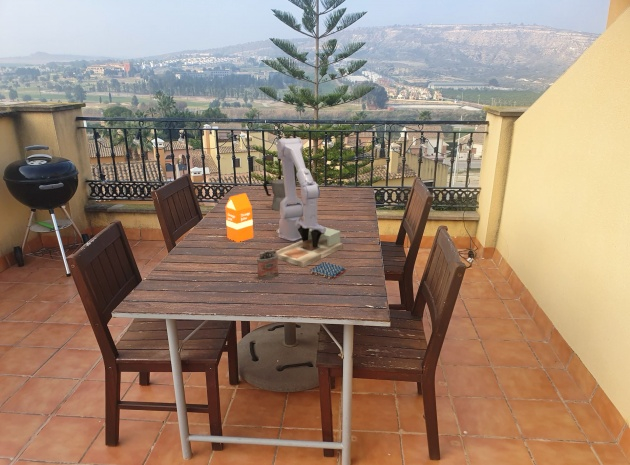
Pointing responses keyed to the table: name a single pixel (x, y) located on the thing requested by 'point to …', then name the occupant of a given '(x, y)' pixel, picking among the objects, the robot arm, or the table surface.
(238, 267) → the table surface
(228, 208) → the orange juice
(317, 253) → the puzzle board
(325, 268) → the woven mat
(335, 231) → the slide cover
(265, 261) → the lighter
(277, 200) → the coffeepot
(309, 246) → the walnut block
